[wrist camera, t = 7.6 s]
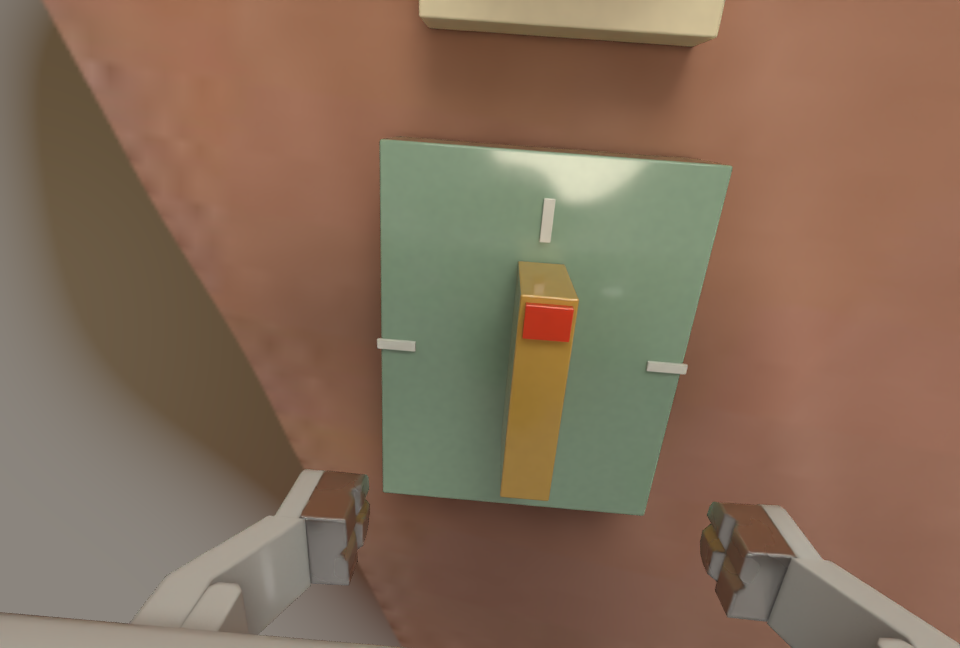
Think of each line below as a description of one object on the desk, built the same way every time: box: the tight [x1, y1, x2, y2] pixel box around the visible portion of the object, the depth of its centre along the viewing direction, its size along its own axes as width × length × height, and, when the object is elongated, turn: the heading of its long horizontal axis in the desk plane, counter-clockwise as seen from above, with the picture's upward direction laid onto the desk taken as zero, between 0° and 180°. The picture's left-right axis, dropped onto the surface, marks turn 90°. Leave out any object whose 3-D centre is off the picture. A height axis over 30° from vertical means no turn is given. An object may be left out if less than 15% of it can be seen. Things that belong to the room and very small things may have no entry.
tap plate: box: [377, 136, 732, 516], centre depth 19 cm, size 11×14×3 cm
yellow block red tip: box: [500, 261, 579, 501], centre depth 16 cm, size 7×2×4 cm, turn 176°
